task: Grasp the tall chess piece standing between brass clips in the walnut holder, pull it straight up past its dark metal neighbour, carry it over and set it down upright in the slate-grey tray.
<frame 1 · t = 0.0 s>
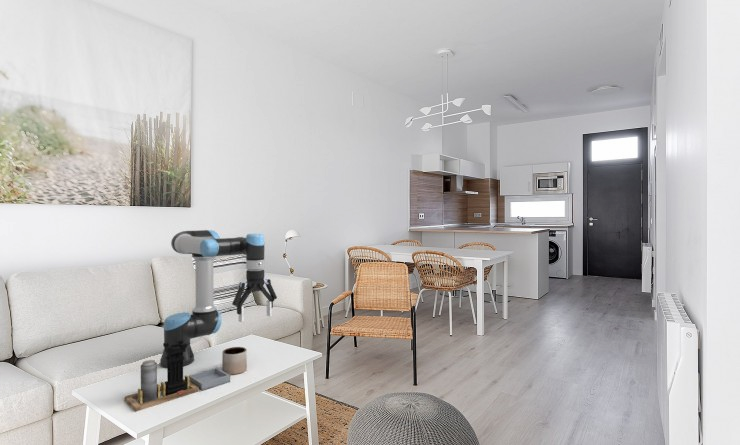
hand: (255, 318, 175), 28 cm above the table, fingers open, 13 cm apart
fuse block: (162, 395, 162), on the table
planter: (234, 371, 189), on the table
tray: (209, 382, 176), on the table
chess piece: (175, 392, 166), resting in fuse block
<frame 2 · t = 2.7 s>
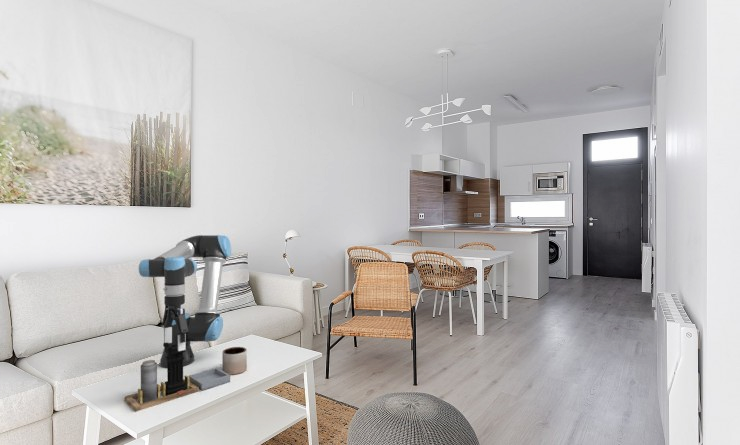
hand: (174, 346, 165), 19 cm above the table, fingers open, 13 cm apart
nothing on the table moved.
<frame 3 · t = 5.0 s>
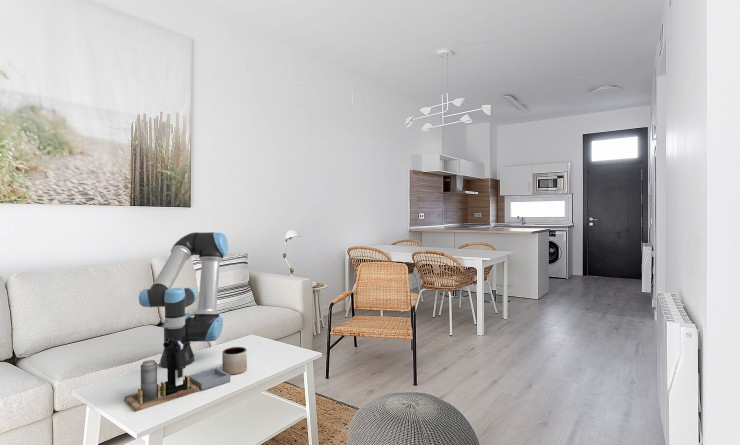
hand: (175, 382, 166), 4 cm above the table, fingers closed on chess piece, 7 cm apart
chess piece: (175, 392, 166), resting in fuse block, touching gripper
everything else where it was.
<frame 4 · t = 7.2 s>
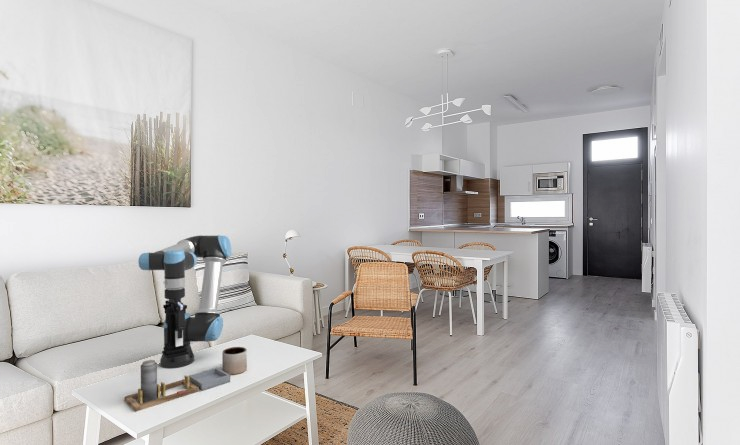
hand: (175, 343, 166), 20 cm above the table, fingers closed on chess piece, 7 cm apart
chess piece: (175, 354, 166), point 16 cm above the table, touching gripper
everything else where it was.
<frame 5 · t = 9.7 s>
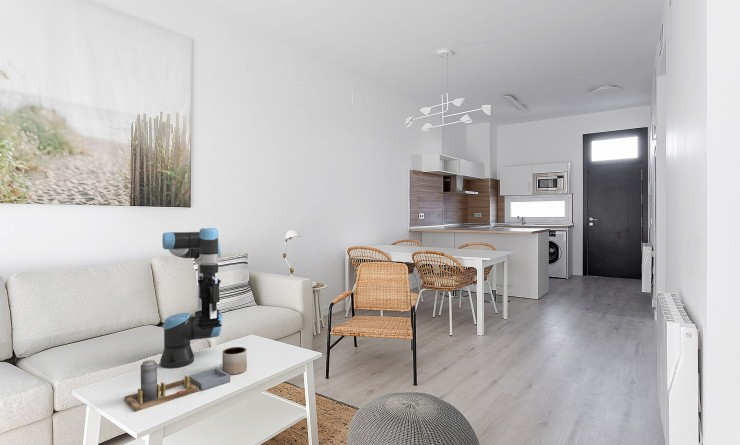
hand: (209, 316, 175), 29 cm above the table, fingers closed on chess piece, 7 cm apart
chess piece: (209, 326, 175), point 24 cm above the table, touching gripper
everything else where it was.
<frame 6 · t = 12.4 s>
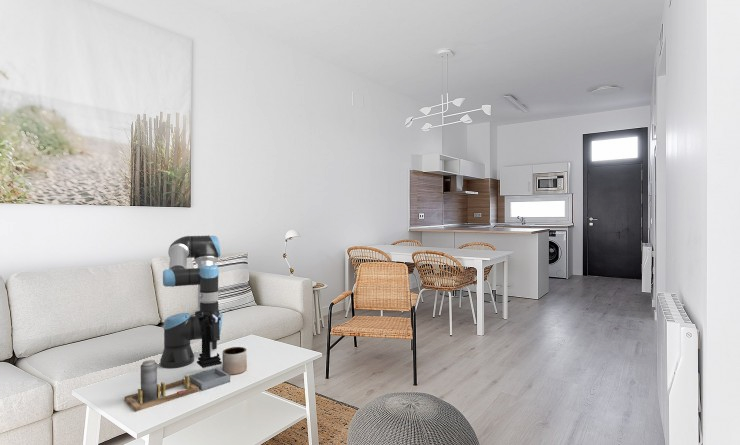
hand: (209, 354, 175), 12 cm above the table, fingers closed on chess piece, 7 cm apart
chess piece: (209, 363, 175), point 8 cm above the table, touching gripper
everything else where it was.
when the fingers open (7 cm above the table, at t = 14.4 s): chess piece drops 2 cm, resting on tray.
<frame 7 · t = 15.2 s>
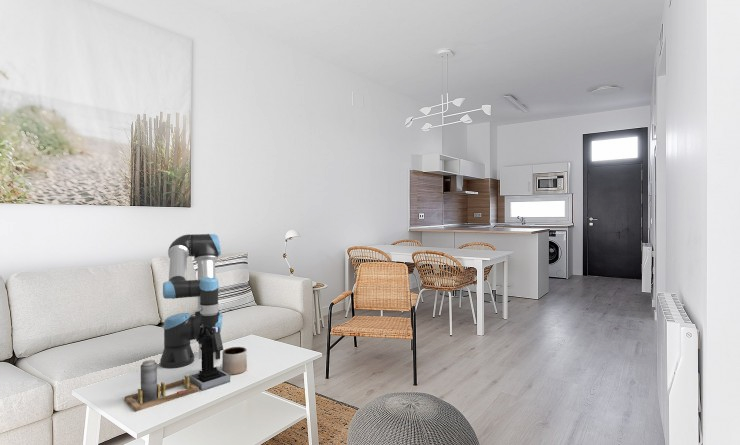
hand: (209, 362, 176), 9 cm above the table, fingers open, 13 cm apart
chess piece: (209, 380, 176), point 1 cm above the table, touching tray
everything else where it was.
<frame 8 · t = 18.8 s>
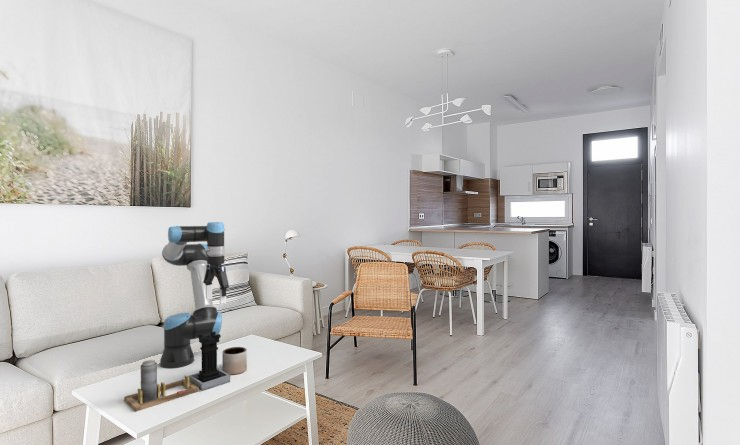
hand: (215, 301, 188), 33 cm above the table, fingers open, 13 cm apart
nothing on the table moved.
at the end: chess piece inside the target area on the tray (0.1 cm from its centre), point 0.6 cm above the tray's base; chess piece tilted 0°; the gripper is holding nothing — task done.
